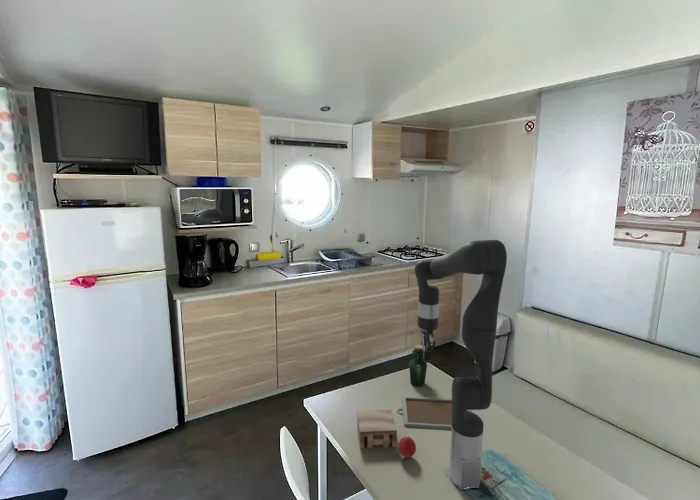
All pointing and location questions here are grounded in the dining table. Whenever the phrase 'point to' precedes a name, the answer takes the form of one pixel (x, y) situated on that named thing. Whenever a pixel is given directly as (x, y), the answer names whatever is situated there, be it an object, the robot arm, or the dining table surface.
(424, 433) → the dining table surface
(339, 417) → the dining table surface
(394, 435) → the cubby
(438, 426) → the grey framed board
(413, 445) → the onion
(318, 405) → the dining table surface
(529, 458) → the dining table surface
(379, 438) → the tile
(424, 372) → the potion bottle
